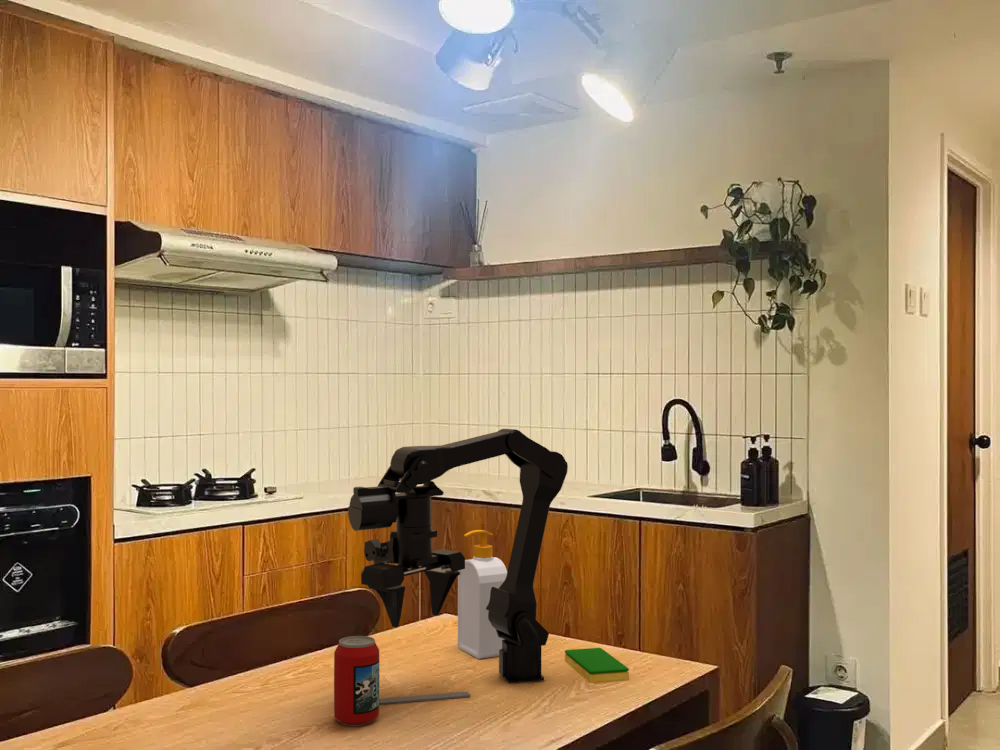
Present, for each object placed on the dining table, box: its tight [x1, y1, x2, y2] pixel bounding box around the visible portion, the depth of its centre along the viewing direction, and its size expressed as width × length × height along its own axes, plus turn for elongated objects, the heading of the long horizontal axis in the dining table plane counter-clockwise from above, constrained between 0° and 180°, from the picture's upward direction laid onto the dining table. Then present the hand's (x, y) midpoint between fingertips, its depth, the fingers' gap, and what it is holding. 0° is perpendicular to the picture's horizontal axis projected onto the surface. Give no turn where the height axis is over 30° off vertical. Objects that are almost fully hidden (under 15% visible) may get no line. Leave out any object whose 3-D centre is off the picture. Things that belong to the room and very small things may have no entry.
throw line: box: [379, 691, 471, 706], centre depth 154 cm, size 19×2×1 cm, turn 105°
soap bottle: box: [457, 529, 508, 660], centre depth 182 cm, size 9×7×23 cm
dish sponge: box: [564, 647, 630, 684], centre depth 171 cm, size 7×14×2 cm, turn 15°
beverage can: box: [333, 635, 380, 727], centre depth 145 cm, size 7×7×12 cm
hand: (415, 620), depth 157 cm, fingers open, 9 cm apart
